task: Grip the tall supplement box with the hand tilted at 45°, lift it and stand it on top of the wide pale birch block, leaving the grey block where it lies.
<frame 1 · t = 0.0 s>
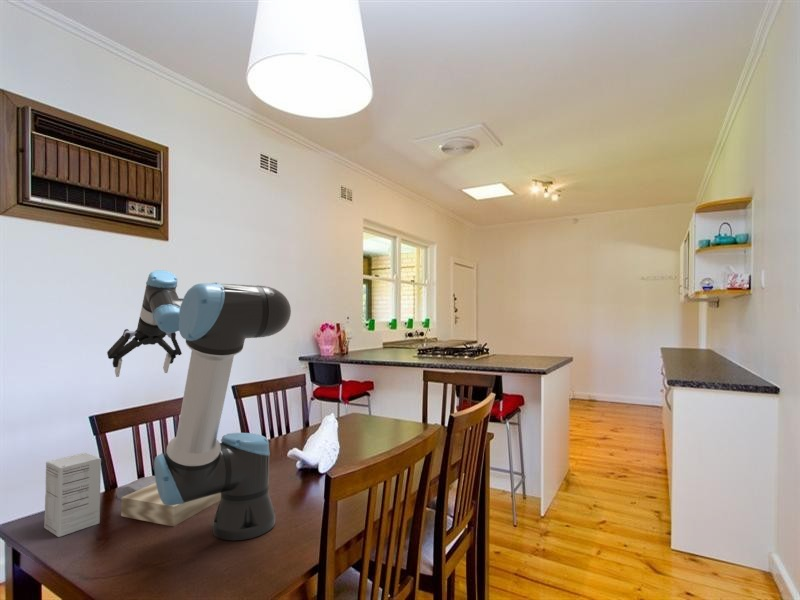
hand: (141, 372, 141), 36 cm above the table, tool tilted 35°, fingers open, 13 cm apart
grey block: (140, 493, 135), on the table
birch stacking block: (174, 507, 125), on the table
supplement box: (72, 526, 114), on the table
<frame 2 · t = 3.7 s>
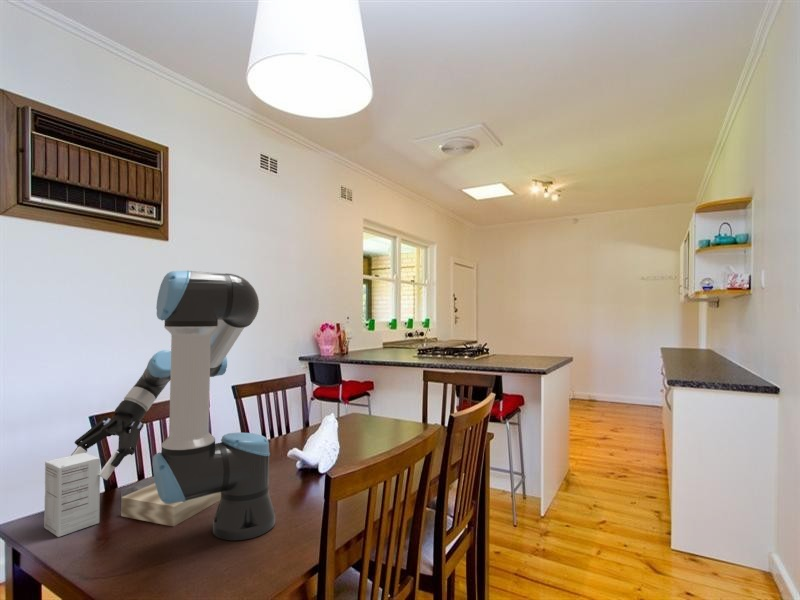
hand: (83, 474, 118), 12 cm above the table, tool tilted 45°, fingers open, 13 cm apart
grey block: (145, 494, 135), on the table
supplement box: (71, 526, 114), on the table, touching gripper
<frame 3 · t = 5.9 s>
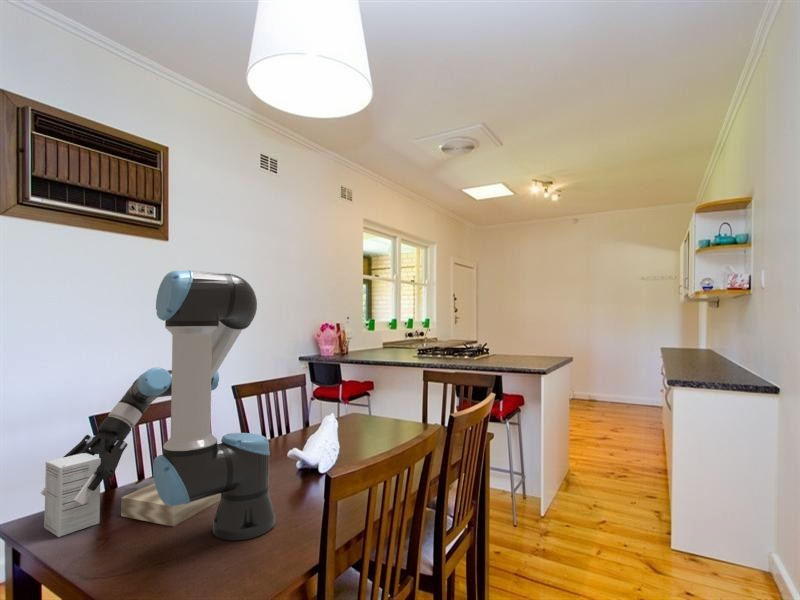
hand: (61, 499, 111), 8 cm above the table, tool tilted 45°, fingers closed on supplement box, 11 cm apart
grey block: (148, 494, 134), on the table
supplement box: (72, 526, 114), on the table, touching gripper
when the fingers open (14 cm above the table, at t = 13.9 s): supplement box drops 1 cm, resting on birch stacking block.
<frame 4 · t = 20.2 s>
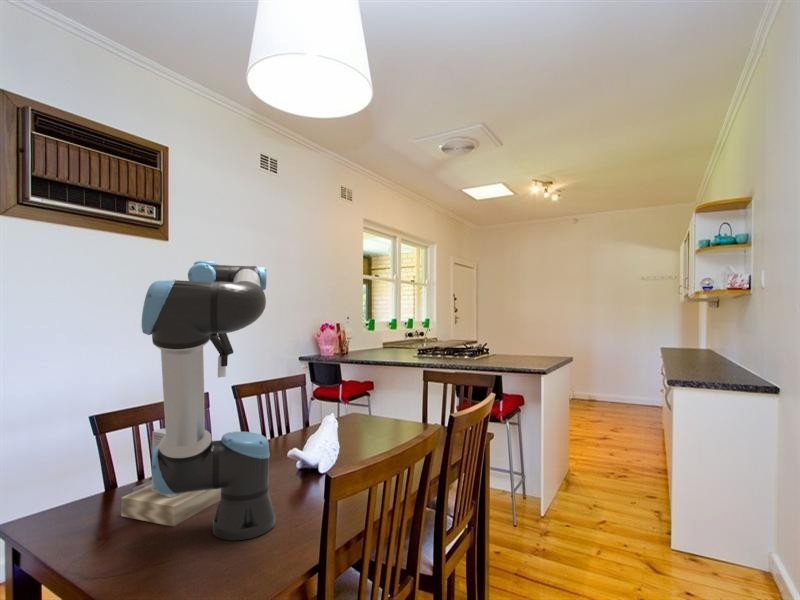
hand: (204, 375, 141), 35 cm above the table, tool pointing down, fingers open, 13 cm apart
grey block: (156, 493, 136), on the table, touching birch stacking block
supplement box: (176, 489, 125), point 5 cm above the table, touching birch stacking block
at the end: supplement box 0.4 cm from the birch stacking block (horizontally); supplement box point 4.8 cm above the table; supplement box tilted 0° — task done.
